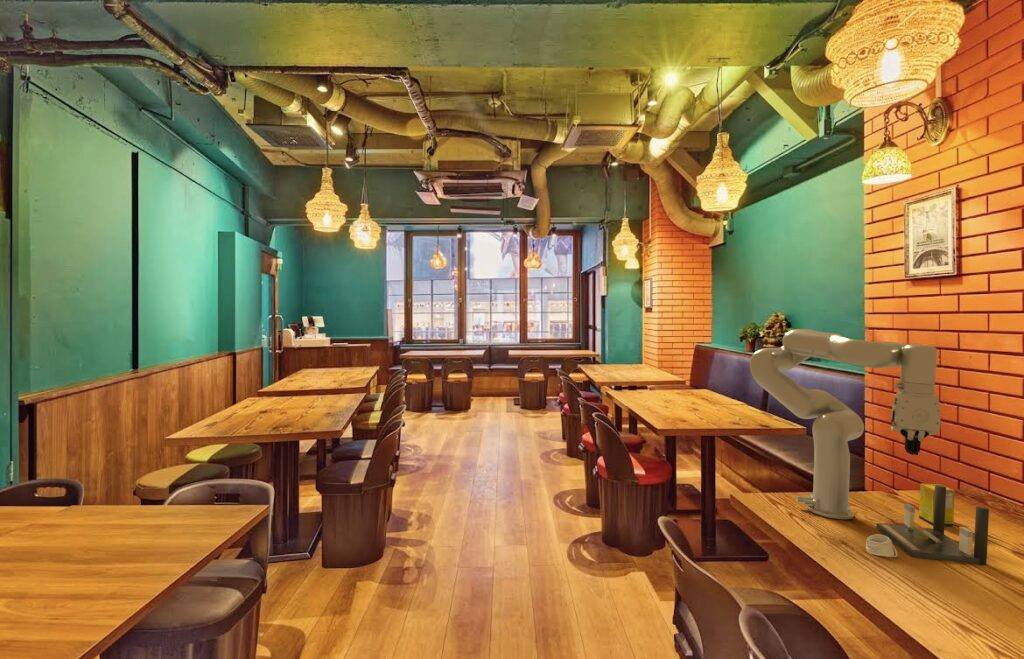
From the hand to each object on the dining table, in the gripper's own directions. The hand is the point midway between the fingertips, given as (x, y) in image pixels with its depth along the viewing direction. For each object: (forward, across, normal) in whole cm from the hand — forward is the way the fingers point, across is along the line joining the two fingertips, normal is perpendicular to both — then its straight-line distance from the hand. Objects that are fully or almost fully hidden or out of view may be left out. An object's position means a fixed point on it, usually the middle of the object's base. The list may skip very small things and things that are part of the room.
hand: (911, 453), depth 138 cm
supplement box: (+24, +14, +15) cm, 32 cm away
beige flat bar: (+22, +2, +3) cm, 23 cm away
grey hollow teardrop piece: (+24, -11, -14) cm, 30 cm away
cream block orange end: (+22, +5, -4) cm, 23 cm away
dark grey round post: (+24, +10, -4) cm, 26 cm away
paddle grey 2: (+22, +8, -12) cm, 26 cm away
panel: (+24, +2, -5) cm, 24 cm away
